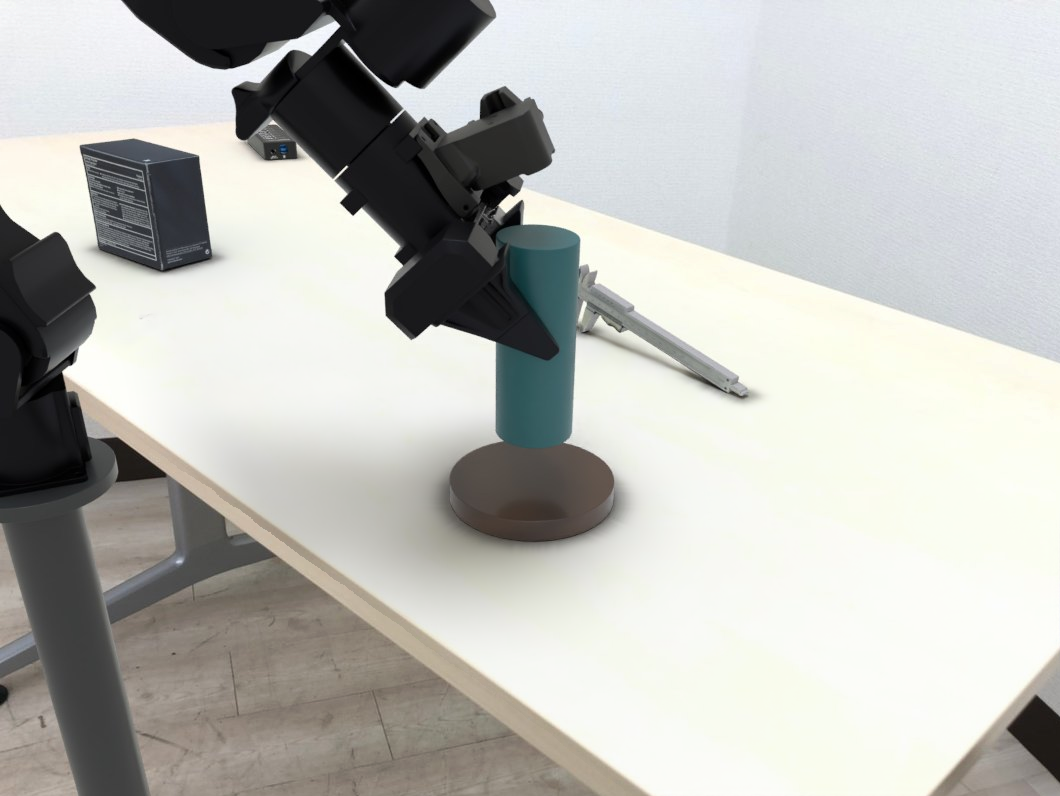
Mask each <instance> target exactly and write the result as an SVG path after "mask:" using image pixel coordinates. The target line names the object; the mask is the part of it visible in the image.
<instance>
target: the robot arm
mask: <svg viewBox="0 0 1060 796" xmlns="http://www.w3.org/2000/svg"><path fill="white" fill-rule="evenodd" d="M120 1H121V2H122V3H123V5H125V7H126V8H127V9H128V10H129V11H130V12H131V14H132V15H133V16H134V17H135V18H136V19H138V21H140V22H141V23H142V24H144V25H145V26H146V27H147V28H149V29H151V30H152V31H153V32H154V33H156V34H157V35H159V37H161V38H162V39H164V40H165V41H167V43H168V44H170V45H172V46H173V47H174V48H175V49H177V50H178V51H179V52H181V53H182V54H183V55H185V56H186V57H188V58H189V59H191V60H192V61H193V62H195V63H197V64H199V65H202V66H205V67H207V68H210V69H214V70H222V71H226V70H231V69H232V70H233V69H236V68H240V67H243V66H247V65H249V64H251V63H253V62H255V61H257V60H260V59H262V58H265V57H266V56H269V55H270V54H273V53H274V52H277V51H279V50H280V49H281V48H282V47H284V46H285V45H286V44H288V43H289V42H290V41H292V40H298V39H300V38H302V37H305V36H306V35H309V34H311V33H313V32H315V31H317V30H319V29H321V28H324V27H326V26H328V25H330V24H333V23H334V22H336V23H337V25H339V27H338V28H337V29H336V30H335V31H334V32H333V33H332V34H331V35H330V36H329V38H327V40H326V41H325V42H324V43H323V44H322V45H321V46H320V47H319V48H318V49H317V50H316V51H315V52H314V53H313V54H312V55H311V54H309V53H307V52H305V51H302V50H299V49H291V50H289V51H287V53H286V54H285V55H284V56H283V57H282V58H281V59H280V60H279V62H277V64H276V65H275V66H274V67H273V68H272V69H271V70H270V71H269V72H268V73H267V75H266V76H265V77H263V79H262V80H261V81H260V82H253V81H249V80H245V81H243V82H241V83H239V84H237V85H236V86H233V88H231V91H230V92H231V96H232V98H233V102H234V106H235V120H234V121H235V131H234V133H235V136H236V138H237V139H238V140H240V141H243V142H246V141H247V140H248V139H249V138H251V137H252V136H254V135H255V134H257V133H258V132H260V131H261V130H262V129H264V128H265V127H267V126H268V125H270V124H271V122H274V123H275V124H276V125H278V126H279V127H280V128H281V129H282V130H284V131H285V132H286V133H287V134H288V135H289V136H290V137H291V138H292V139H293V140H294V141H295V142H296V145H297V146H298V147H300V149H301V150H303V152H305V154H306V155H308V157H310V158H311V159H312V160H313V161H314V163H316V165H318V166H319V167H320V168H321V169H322V170H323V171H324V173H326V174H327V176H329V177H330V178H331V179H332V180H334V181H333V182H335V184H337V185H338V186H339V187H340V188H341V189H342V190H343V191H344V193H346V195H345V196H344V197H343V198H342V199H341V200H340V201H339V204H340V205H341V206H342V207H343V208H344V209H345V210H346V211H347V213H349V214H350V215H351V217H354V216H355V215H356V214H357V213H358V212H359V211H361V209H362V210H363V212H365V213H366V214H367V215H368V217H369V218H371V219H372V220H373V221H374V222H375V223H376V224H377V225H378V226H379V228H381V229H382V230H383V231H384V232H385V233H386V234H387V235H388V236H389V237H390V238H391V239H392V240H393V241H394V243H396V244H397V245H398V246H399V247H398V249H397V251H396V252H395V254H394V256H393V257H394V258H395V260H397V262H398V263H400V264H401V265H402V266H401V267H400V268H399V269H398V270H397V271H396V272H395V274H394V276H393V278H392V279H391V280H390V282H389V284H388V286H387V287H386V288H385V291H384V293H383V294H384V309H385V310H384V311H385V312H384V313H385V317H386V318H387V319H388V320H389V321H390V322H391V323H392V324H393V325H394V326H396V327H397V328H398V329H399V330H400V331H401V332H402V334H404V335H405V336H406V337H407V338H408V339H409V341H412V340H414V339H417V338H418V337H419V336H420V335H421V334H422V333H423V332H425V331H426V330H427V329H429V327H430V326H432V327H434V328H438V327H440V326H444V327H447V328H449V329H454V330H456V331H460V332H463V333H467V334H469V335H473V336H477V337H479V338H483V339H485V340H488V341H491V342H494V343H496V342H497V343H499V344H502V345H505V346H508V347H510V348H513V349H516V350H518V351H521V352H524V353H527V354H529V355H532V356H535V357H537V358H540V359H543V360H546V361H549V360H551V359H552V358H553V357H554V356H556V355H557V354H558V353H559V351H560V347H559V345H558V344H557V342H556V341H555V339H554V338H553V336H552V335H551V333H550V332H549V330H548V329H547V327H546V326H545V325H544V323H543V322H542V320H541V319H540V318H539V316H538V315H537V314H536V312H535V311H534V310H533V308H532V307H531V305H530V304H529V303H528V301H527V300H526V299H525V297H524V296H523V294H522V293H521V292H520V290H519V289H518V288H517V286H516V285H515V284H514V282H513V281H512V279H511V276H510V243H509V242H507V243H506V244H505V245H504V246H502V247H501V248H500V249H499V250H497V248H496V234H497V232H498V231H500V230H502V229H504V228H507V227H511V226H516V225H524V215H525V213H524V211H525V201H524V199H520V200H519V201H518V202H517V203H516V204H514V205H513V206H512V207H511V208H510V209H509V210H507V212H505V210H504V209H503V208H502V207H501V206H500V204H501V203H502V202H503V201H504V200H505V199H507V197H508V196H509V195H510V196H511V197H513V198H515V197H516V196H517V195H518V194H519V193H521V191H522V189H523V188H522V187H523V185H524V182H525V181H524V179H523V178H522V177H521V175H524V176H528V177H529V176H531V175H534V174H536V173H539V172H541V171H543V170H545V169H547V168H548V167H550V166H551V165H552V164H553V157H552V155H553V154H555V153H556V148H555V146H554V143H553V141H552V138H551V136H550V134H549V131H548V128H547V127H546V124H545V122H544V117H545V115H544V113H543V111H542V110H541V109H540V108H539V107H538V105H537V102H536V100H535V99H534V98H531V96H528V97H526V98H523V100H522V99H521V98H519V96H517V95H516V94H515V93H514V92H513V91H512V90H510V89H509V88H508V87H507V86H506V85H504V86H500V87H499V88H496V89H493V90H491V91H488V92H487V93H484V94H483V95H482V97H481V98H480V101H479V119H477V120H475V119H472V120H470V121H468V122H467V124H465V125H464V126H461V127H459V128H456V129H454V130H452V131H450V132H447V131H445V129H444V128H443V127H441V125H440V124H439V123H438V122H437V121H436V120H435V119H433V118H429V119H427V118H426V116H422V118H421V119H420V120H419V121H417V120H415V119H414V118H413V116H412V115H411V114H410V113H409V112H408V111H407V110H406V109H404V107H403V106H402V105H401V103H399V102H398V101H397V99H396V98H395V97H394V96H393V95H392V94H391V93H390V92H389V90H387V89H386V88H385V86H384V85H382V83H384V84H385V85H387V86H389V87H391V88H393V89H398V88H400V86H402V85H403V84H404V83H407V84H408V85H410V86H412V87H414V88H416V89H418V90H425V89H426V88H428V86H429V85H430V84H431V83H432V82H433V81H434V80H435V79H436V78H437V77H439V76H440V74H441V73H443V71H444V70H445V69H447V67H448V66H449V65H450V64H451V63H452V62H454V60H455V59H456V58H458V56H459V55H460V54H462V52H463V51H464V50H465V49H466V48H467V47H468V46H470V44H471V43H473V41H475V39H477V37H478V36H480V34H481V33H483V31H484V30H485V29H486V28H487V27H488V26H489V25H490V24H491V23H492V22H493V21H495V19H496V18H497V12H496V10H495V8H494V6H493V4H492V2H491V0H120ZM346 45H347V46H349V47H347V46H346ZM348 48H350V49H351V50H352V52H351V51H350V49H348ZM354 54H355V55H354ZM377 78H378V79H379V80H380V81H381V82H382V83H380V81H378V80H377ZM96 289H97V286H96V284H95V283H93V282H92V281H91V280H90V279H89V278H88V277H87V276H85V274H84V273H83V272H82V270H81V269H80V267H79V266H78V264H77V262H76V260H75V258H74V255H73V254H72V251H71V249H70V246H69V244H68V241H67V240H66V239H65V238H64V236H62V234H61V233H60V232H58V231H54V232H51V233H50V234H48V235H47V236H45V237H43V238H41V239H40V238H38V237H37V236H35V235H34V234H33V233H31V232H30V231H29V230H27V229H26V228H25V227H23V226H21V225H20V224H18V223H17V222H16V221H14V220H13V219H12V218H11V217H10V216H9V214H7V212H6V211H5V210H4V208H3V206H2V204H0V498H1V497H6V496H12V495H17V494H23V493H28V492H34V491H39V490H45V489H51V488H56V487H62V486H67V485H73V484H78V483H83V482H86V481H87V480H89V476H88V472H87V467H86V463H85V462H88V461H90V460H91V459H92V454H91V449H90V445H89V440H88V437H89V435H88V432H87V427H86V422H85V419H84V414H83V409H82V406H81V402H80V398H79V393H78V392H76V391H74V390H70V391H67V385H66V381H65V377H64V373H63V372H64V371H65V370H66V369H67V368H68V367H72V366H73V365H74V364H76V362H77V360H78V354H79V351H80V350H79V349H80V347H81V346H82V345H83V344H85V343H86V341H87V340H88V339H89V338H90V337H91V335H92V333H93V331H94V327H95V324H96V323H95V322H96V320H97V318H98V314H97V308H96V304H95V302H94V299H93V297H92V295H91V293H93V292H94V291H95V290H96Z"/></svg>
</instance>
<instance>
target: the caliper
mask: <svg viewBox="0 0 1060 796" xmlns="http://www.w3.org/2000/svg"><path fill="white" fill-rule="evenodd" d="M598 272H599V271H598V270H594V271H590V266H589V263H586V264H583V265H579V284H578V307H577V324H578V323H579V319H580V314H581V311H582V308H583V305H584V302H585V303H586V306H585V308H584V311H583V314H582V319H581V322H580V324H581V326H580V329H579V332H580V334H581V333H586V332H588V331H590V330H593V327H594V326H595V324H596V323H597V321H598V319H599V318H600V316H601V319H602V320H603V321H604V322H605V323H606V325H607V326H609V327H612V328H614V330H616V332H618V333H619V334H621V333H624V332H628V331H630V332H631V333H633V334H634V335H636V336H638V337H639V338H641V339H642V340H644V341H645V342H647V343H648V344H650V345H652V346H653V347H655V348H657V349H658V350H659V351H660V352H662V353H664V354H666V355H667V356H669V357H670V358H671V359H673V360H675V361H676V362H678V363H680V364H681V365H683V366H684V367H686V368H687V369H688V370H690V371H692V372H693V373H695V374H697V375H698V376H700V377H701V378H702V379H704V380H705V381H707V382H708V383H710V384H712V385H713V386H714V387H717V388H718V389H720V390H721V391H723V392H724V393H725V394H730V393H732V392H734V393H735V394H736V395H738V396H740V397H743V396H745V395H747V394H749V393H750V390H749V389H748V387H747V386H746V385H744V384H743V383H741V382H739V381H740V380H739V379H740V376H739V375H738V374H736V373H735V372H733V371H731V370H730V369H728V368H727V367H726V366H723V364H720V363H719V362H717V361H715V360H714V359H713V358H711V357H710V356H708V355H706V354H705V353H703V352H701V351H700V350H699V349H697V348H695V347H693V346H692V345H691V344H689V343H687V342H686V341H684V340H682V339H681V338H679V337H678V336H676V335H674V334H673V333H671V332H669V331H668V330H666V329H665V328H663V327H662V326H660V325H658V324H657V323H655V322H654V321H652V320H651V319H649V318H647V317H646V316H645V315H643V314H641V313H639V312H638V311H636V310H635V305H634V304H632V303H631V302H630V301H628V300H627V299H625V298H623V297H622V296H620V295H619V294H617V293H616V292H615V291H612V290H611V289H610V288H608V287H606V285H605V286H604V284H602V283H599V282H598V283H596V279H597V275H598Z"/></svg>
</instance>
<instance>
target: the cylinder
mask: <svg viewBox="0 0 1060 796" xmlns="http://www.w3.org/2000/svg"><path fill="white" fill-rule="evenodd" d="M507 242H509V243H510V276H511V279H512V281H513V282H514V284H515V285H516V286H517V288H518V289H519V290H520V292H521V293H522V294H523V296H524V297H525V299H526V300H527V301H528V303H529V304H530V305H531V307H532V308H533V310H534V311H535V312H536V314H537V315H538V316H539V318H540V319H541V320H542V322H543V323H544V325H545V326H546V327H547V329H548V330H549V332H550V333H551V335H552V336H553V338H554V339H555V341H556V342H557V344H558V345H559V347H560V351H559V353H558V354H557V355H556V356H554V357H553V358H552V359H551V360H549V361H546V360H543V359H540V358H537V357H535V356H532V355H529V354H527V353H524V352H521V351H518V350H516V349H513V348H510V347H508V346H505V345H502V344H499V343H497V342H495V426H494V427H495V434H496V436H497V437H498V438H499V439H500V440H501V441H505V442H506V443H509V444H511V445H514V446H518V447H523V448H548V447H553V446H557V445H559V444H562V443H566V442H567V441H568V440H569V439H570V438H571V436H572V434H573V420H574V419H573V418H574V398H575V397H574V394H575V373H576V353H577V352H576V351H577V329H578V326H577V325H578V323H577V307H578V284H579V268H580V261H581V260H580V257H581V237H580V235H578V234H577V232H574V231H573V230H570V229H567V228H564V227H560V226H556V225H547V224H538V223H537V224H536V223H535V224H534V223H532V224H531V223H530V224H523V225H516V226H511V227H507V228H504V229H502V230H500V231H498V232H497V234H496V248H497V250H499V249H500V248H501V247H502V246H504V245H505V244H506V243H507Z"/></svg>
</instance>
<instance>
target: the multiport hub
mask: <svg viewBox="0 0 1060 796" xmlns="http://www.w3.org/2000/svg"><path fill="white" fill-rule="evenodd" d="M246 141H247V144H248V145H249V146H250V147H252V149H253V150H254V151H256V153H258V154H259V156H261V157H262V158H263V160H265V161H275V160H278V161H279V160H291V159H292V160H295V159H298V158H299V157H298V148H297V146H298V145H297V143H296V142H295V141H294V140H293V139H292V138H291V137H290V136H289V135H288V134H287V133H286V132H285V131H284V130H283V129H282V128H281V127H280V126H279V125H278V124H268V126H267V127H265V128H264V129H262V130H261V131H260V132H258V133H257V134H255V135H254V136H252V137H251V138H249V139H248V140H246Z"/></svg>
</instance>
